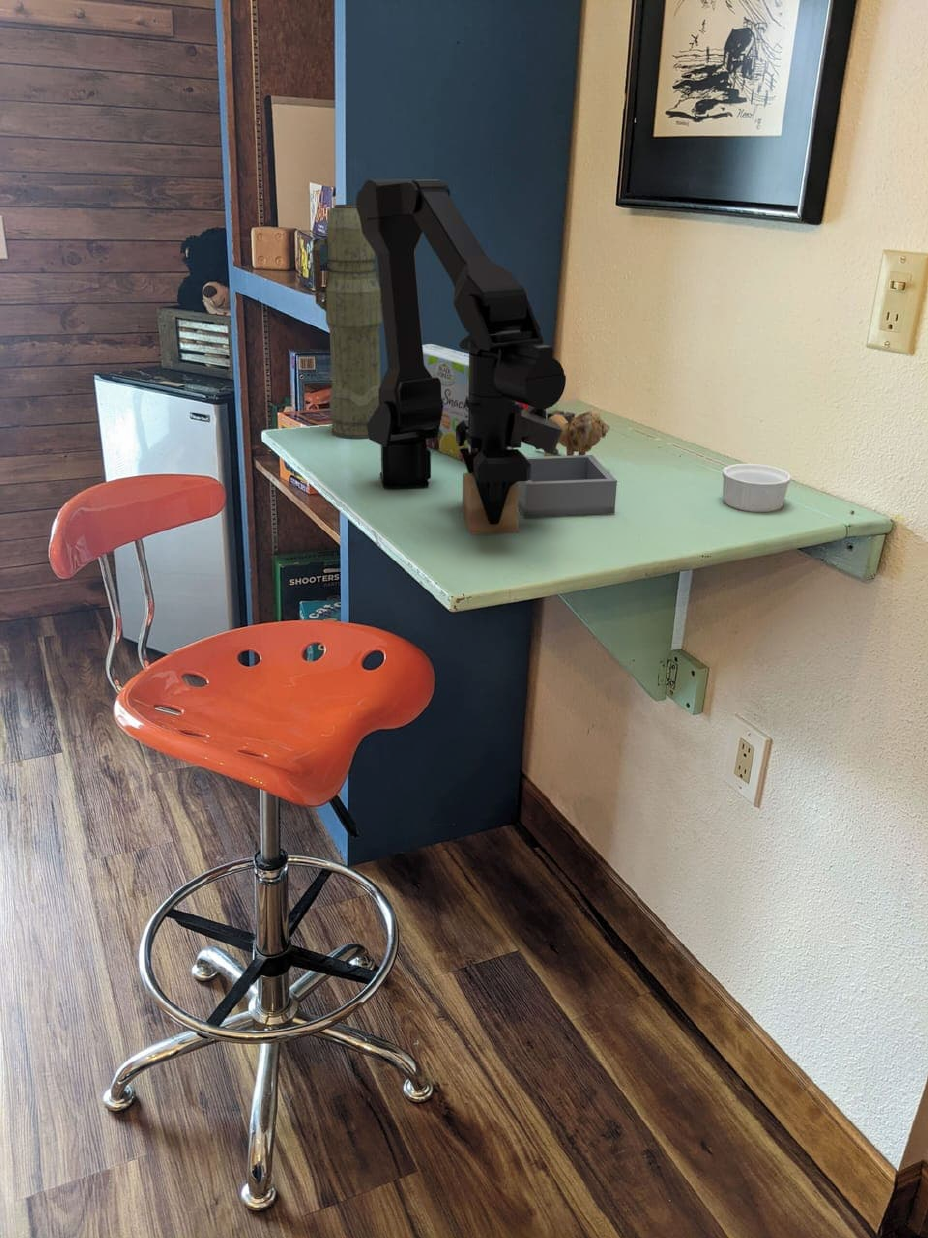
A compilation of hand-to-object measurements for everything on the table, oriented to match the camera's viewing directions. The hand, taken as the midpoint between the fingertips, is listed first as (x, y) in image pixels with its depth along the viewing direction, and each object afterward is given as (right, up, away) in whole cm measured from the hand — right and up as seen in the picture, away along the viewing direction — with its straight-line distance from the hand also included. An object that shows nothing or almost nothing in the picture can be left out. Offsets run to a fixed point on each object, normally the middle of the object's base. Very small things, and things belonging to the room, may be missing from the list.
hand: (489, 515), depth 127 cm
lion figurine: (+13, +10, +26) cm, 30 cm away
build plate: (+13, +16, +39) cm, 44 cm away
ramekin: (+36, +2, +9) cm, 37 cm away
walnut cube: (0, -1, +1) cm, 1 cm away
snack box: (-4, +13, +30) cm, 33 cm away
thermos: (-21, +18, +41) cm, 49 cm away
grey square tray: (+10, +3, +9) cm, 14 cm away
